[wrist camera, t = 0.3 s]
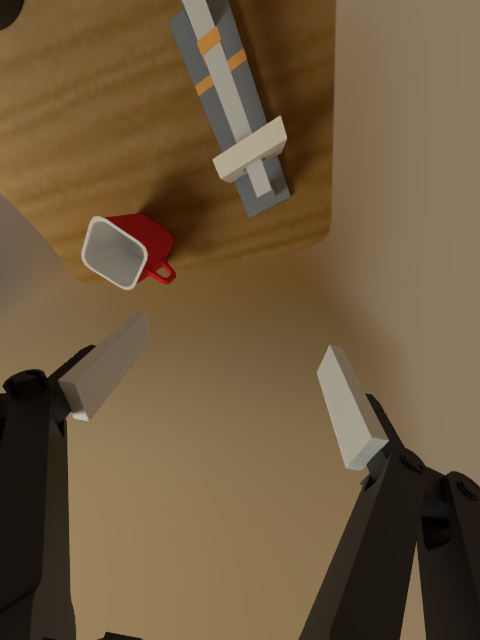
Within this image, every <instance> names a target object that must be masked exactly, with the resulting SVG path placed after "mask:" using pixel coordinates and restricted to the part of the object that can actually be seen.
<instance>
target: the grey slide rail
mask: <svg viewBox="0 0 480 640" xmlns="http://www.w3.org/2000/svg"><path fill="white" fill-rule="evenodd" d="M180 2H181V4H182V7H183V9H182V10H181V11H180V12H179V13H178V14H177V15H176V16H175V17H174V18H173V19H172V20H171V21H170V22H169V25H170V27H171V30H172V32H173V35H174V37H175V40H176V42H177V44H178V47H179V49H180V52H181V54H182V57H183V59H184V61H185V64H186V66H187V69H188V71H189V74H190V76H191V78H192V81H193V83H194V86H195V88H196V91H197V93H198V96H199V98H200V100H201V103H202V105H203V108H204V110H205V112H206V115H207V117H208V120H209V122H210V124H211V127H212V129H213V132H214V134H215V137H216V139H217V141H218V144H219V146H220V149H221V151H222V153H223V152H225V151H226V150H228V149H229V148H231V147H232V146H234V145H235V144H237V143H238V142H240V141H242V140H243V139H245V138H246V137H248V136H249V135H251V134H252V133H254V132H255V131H257V130H259V129H260V128H262V127H263V126H265V125H266V124H267V121H266V117H265V114H264V111H263V108H262V105H261V102H260V99H259V95H258V92H257V89H256V86H255V83H254V80H253V76H252V73H251V70H250V67H249V64H248V61H247V57H246V54H245V51H244V48H243V45H242V42H241V39H240V35H239V32H238V29H237V26H236V23H235V20H234V17H233V13H232V10H231V7H230V4H229V1H228V0H180ZM246 169H247V172H248V173H247V174H245V175H243V176H242V177H240V178H238V179H237V180H235V181H234V183H235V185H236V188H237V190H238V192H239V195H240V197H241V200H242V202H243V204H244V207H245V209H246V212H247V214H248V217H249V218H250V217H252V216H254V215H256V214H258V213H260V212H262V211H264V210H266V209H268V208H270V207H272V206H273V205H275V204H277V203H279V202H281V201H283V200H285V199H287V198H289V197H291V196H290V193H289V190H288V187H287V184H286V181H285V177H284V174H283V171H282V168H281V165H280V162H279V158H278V155H277V156H275V157H274V158H272V159H270V160H269V161H267V162H265V163H264V164H263V163H262V160H261V159H259V160H257V161H256V162H254V163H252V164H251V165H249V166H247V167H246Z"/></svg>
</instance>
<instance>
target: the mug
mask: <svg viewBox="0 0 480 640" xmlns="http://www.w3.org/2000/svg"><path fill="white" fill-rule="evenodd" d="M173 244H174V239H173V236H172V235H171V234H170V233H169V232H168V231H167V230H165V229H164V228H163V227H161V226H160V225H158V224H157V223H156V222H154V221H153V220H151V219H150V218H149V217H147V216H146V215H144V214H141V213H138V214H130V215H121V216H113V217H101V216H96V217H93V218H92V219H91V221H90V223H89V227H88V230H87V234H86V237H85V241H84V245H83V248H82V252H81V259H82V260H83V262H84V264H85V265H86V266H87V267H88V268H89V269H91V270H92V271H94V272H96V273H97V274H99V275H101V276H102V277H104V278H105V279H107V280H109V281H110V282H112V283H114V284H115V285H117V286H118V287H120V288H122V289H125V290H131V289H133V288H134V287H135V285H136V284H137V283H139V282H140V281H142V280H143V279H145V278H146V277H148V276H149V275H150V276H151V277H153V278H155V279H156V280H158V281H160V282H161V283H163V284H169V283H171V282H172V281H173V280H174V279H175V278H176V273H175V271H174V270H173V269H172V268H171V266H170V265H169V264H168V263H167V261H166V258H167V256H168V254H169V252H170V251H171V249H172V247H173ZM162 266H163V267H164V268H165V269H166V270H167V271H168V272H169V274H170V276H169V277H168V278H164V277H162V276H160V275H159V274H157V273H156V272H155V271H157V270H158V269H160V268H161V267H162Z"/></svg>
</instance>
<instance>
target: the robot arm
mask: <svg viewBox="0 0 480 640" xmlns="http://www.w3.org/2000/svg"><path fill="white" fill-rule="evenodd" d="M21 4H22V0H0V30H2V29H4V28H6V27H7V26H9V25H10V24H11V23H12V22H13V21H14V19H15V18H16V16H17V14H18V12H19V10H20V7H21ZM149 344H150V337H149V327H148V315H147V312H143V311H138V310H137V311H135V312H134V313H133V314H132V315H131V316H130V317H129V318H127V319H126V320H125V321H124V322H123V323H122V324H121V325H120V326H118V327H117V328H116V329H115V330H114V331H113V332H112V333H111V334H109V335H108V336H107V337H106V338H105V339H104V340H103V341H102V342H101V343H99V344H98V345H97V346H95V345H90V346H88V347H85V348H83V349H82V350H80V351H79V352H78V353H77V354H75V355H74V357H72V358H70V359H69V360H68V361H67V362H66V363H64V365H62V366H61V367H60V368H59V369H57V370H56V371H55V372H54V373H53V374H51V375H50V376H49V377H48V378H47V377H46V375H45V373H44V372H43V371H41V370H38V369H31V370H25V371H22V372H19V373H17V374H15V375H13V376H11V377H10V378H9V379H7V380H6V381H5V383H4V384H3V388H4V390H5V391H6V393H2V394H0V640H76V625H75V615H74V609H73V605H72V602H71V595H70V555H69V506H68V461H67V459H68V458H67V421H66V417H67V415H68V414H69V413H70V412H72V415H73V417H74V419H80V420H85V421H90V419H91V418H92V417H93V416H94V414H95V413H96V412H97V410H98V409H99V408H100V407H101V405H102V404H103V403H104V401H105V400H106V399H107V397H108V396H109V395H110V394H111V392H112V391H113V390H114V388H115V387H116V386H117V385H118V383H119V382H120V381H121V380H122V378H123V377H124V376H125V374H126V373H127V372H128V371H129V369H130V368H131V367H132V365H133V364H134V363H135V362H136V360H137V359H138V358H139V356H140V355H141V354H142V353H143V351H144V350H145V349H146V347H147V346H148V345H149ZM317 375H318V378H319V381H320V385H321V388H322V391H323V394H324V398H325V401H326V405H327V408H328V411H329V414H330V418H331V421H332V424H333V427H334V431H335V434H336V437H337V440H338V444H339V447H340V451H341V454H342V457H343V461H344V463H345V467H346V468H348V469H353V470H358V471H361V470H362V469H363V468H364V467H365V466H366V465H367V467H368V469H369V472H370V474H369V475H368V476H367V477H366V478H365V479H364V480H363V481H362V482H361V483H360V484H361V485H363V484H364V485H363V487H362V490H361V492H360V494H359V497H358V499H357V501H356V504H355V506H354V508H353V511H352V513H351V516H350V518H349V520H348V523H347V525H346V528H345V530H344V532H343V535H342V537H341V540H340V542H339V544H338V547H337V549H336V552H335V554H334V556H333V559H332V561H331V563H330V566H329V568H328V571H327V573H326V575H325V578H324V580H323V583H322V585H321V587H320V590H319V592H318V595H317V597H316V600H315V602H314V604H313V606H312V609H311V611H310V614H309V616H308V618H307V621H306V623H305V626H304V628H303V630H302V633H301V635H300V637H299V640H400V634H401V628H402V623H403V617H404V611H405V605H406V599H407V593H408V587H409V582H410V575H411V569H412V563H413V558H414V552H415V546H416V541H417V550H418V560H419V571H420V581H421V591H422V599H423V611H424V621H425V630H426V640H480V487H479V486H478V485H477V484H476V483H475V482H474V481H473V480H471V479H470V478H468V477H467V476H465V475H464V474H462V473H459V472H455V471H452V472H450V473H448V474H447V475H446V476H445V475H443V474H441V473H439V472H437V471H435V470H433V469H431V468H428V467H426V466H425V465H424V463H423V462H422V461H421V459H420V458H419V457H418V456H417V455H416V454H414V453H413V452H412V451H410V450H409V449H407V448H405V447H404V445H403V444H402V442H401V440H400V438H399V437H398V435H397V433H396V431H395V429H394V428H393V426H392V424H391V422H390V421H389V420H388V417H387V415H386V414H385V413H384V410H383V408H382V406H381V405H380V403H379V402H378V401H377V400H376V399H375V398H374V397H373V396H372V395H371V394H365V393H364V391H363V389H362V387H361V385H360V383H359V381H358V379H357V378H356V375H355V374H354V372H353V370H352V368H351V366H350V364H349V362H348V360H347V358H346V356H345V354H344V352H343V350H342V349H341V347H340V346H335V345H330V346H329V348H328V350H327V352H326V354H325V356H324V359H323V361H322V363H321V365H320V367H319V369H318V371H317ZM98 640H142V639H141V638H136V637H131V636H125V635H120V634H115V633H110V632H106V633H105V636H104V638H101V639H98Z"/></svg>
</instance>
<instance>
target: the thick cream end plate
mask: <svg viewBox="0 0 480 640" xmlns="http://www.w3.org/2000/svg"><path fill="white" fill-rule="evenodd" d="M286 140H287V136H286V132H285V129H284V125H283V122H282V118H281V115H280V116H279V117H277V118H275V119H274V120H272V121H271V122H269V123H268V124H266V125H265V126H263V127H262V128H260V129H259V130H257V131H255V132H254V133H252V134H251V135H249V136H248V137H246V138H245V139H243V140H242V141H240V142H238V143H237V144H235V145H234V146H232V147H231V148H229V149H228V150H226V151H225V152H223V153H222V154H220V155H218V156H217V157H215V158H214V159H212V160H213V163H214V165H215V167H216V170H217V172H218V174H219V176H220V179H222V180H224V181H226V182H229V183H232V182H233V181H235V180H237V179H238V178H240V177H242V176H243V175H245V174H247V173H248V172H247V169H246V167H247V166H249V165H251V164H252V163H254V162H256V161H257V160H259V159H261V160H262V163H263V164H264V163H265V162H267V161H269V160H270V159H272V158H274V157H275V156H277V155H279V154H280V153H282V151H283V148H284V146H285V143H286Z"/></svg>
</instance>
